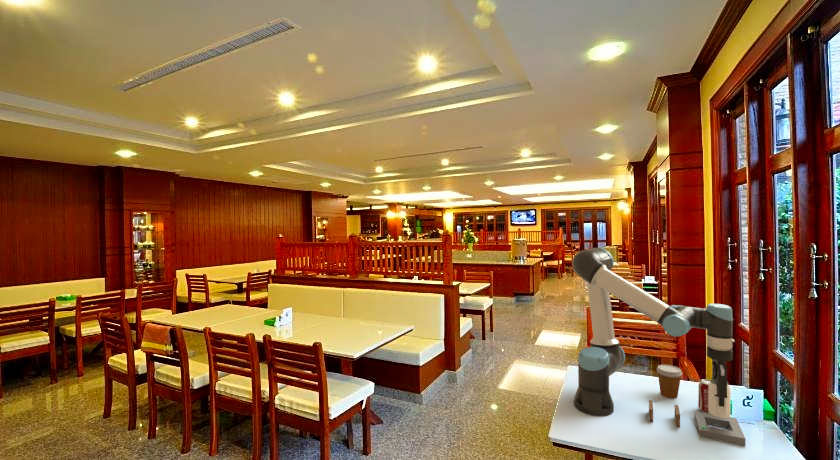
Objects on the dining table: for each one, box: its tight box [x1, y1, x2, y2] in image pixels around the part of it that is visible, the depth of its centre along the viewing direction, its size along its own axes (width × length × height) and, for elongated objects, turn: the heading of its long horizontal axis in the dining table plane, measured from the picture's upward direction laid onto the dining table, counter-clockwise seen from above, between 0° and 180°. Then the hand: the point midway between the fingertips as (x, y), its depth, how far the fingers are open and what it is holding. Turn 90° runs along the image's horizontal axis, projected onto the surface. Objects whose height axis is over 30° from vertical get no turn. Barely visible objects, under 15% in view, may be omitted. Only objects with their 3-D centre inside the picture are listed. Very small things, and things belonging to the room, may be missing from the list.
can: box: [708, 378, 731, 419], centre depth 147 cm, size 6×6×12 cm
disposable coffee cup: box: [656, 364, 683, 400], centre depth 175 cm, size 10×10×12 cm
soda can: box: [697, 378, 711, 413], centre depth 161 cm, size 7×7×12 cm
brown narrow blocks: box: [648, 399, 681, 429], centre depth 155 cm, size 10×8×5 cm
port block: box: [693, 410, 746, 447], centre depth 147 cm, size 13×15×3 cm
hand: (719, 409), depth 147 cm, fingers closed on can, 6 cm apart
